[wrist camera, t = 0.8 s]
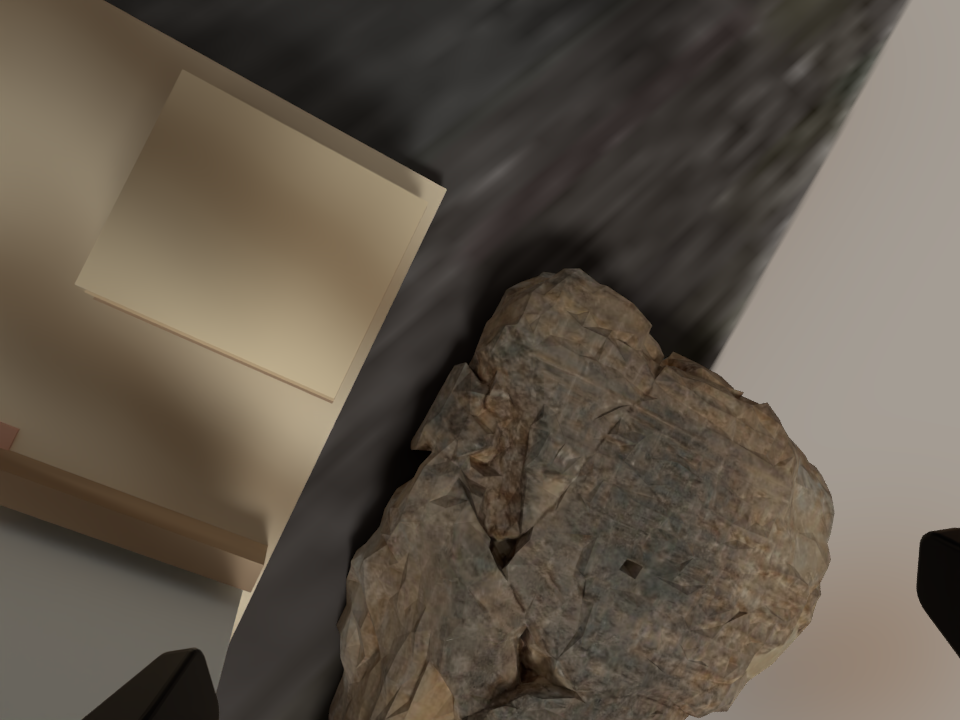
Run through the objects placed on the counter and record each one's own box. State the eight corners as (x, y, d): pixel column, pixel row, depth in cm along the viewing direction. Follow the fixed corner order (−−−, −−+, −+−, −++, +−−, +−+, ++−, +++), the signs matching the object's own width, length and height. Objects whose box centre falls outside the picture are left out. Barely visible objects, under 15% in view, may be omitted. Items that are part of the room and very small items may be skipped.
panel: (212, 653, 19) (122, 948, 10) (-34, 574, 17) (-396, 844, 8) (243, 589, 19) (180, 827, 10) (0, 504, 17) (-321, 700, 9)
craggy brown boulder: (546, 943, 23) (826, 461, 24) (599, 1105, 19) (944, 497, 20) (181, 793, 20) (518, 249, 21) (133, 940, 16) (569, 231, 17)
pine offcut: (332, 392, 17) (334, 398, 16) (92, 286, 15) (74, 284, 14) (420, 210, 17) (428, 202, 16) (192, 87, 15) (182, 69, 14)
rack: (181, 736, 20) (163, 791, 17) (-384, 574, 16) (-497, 616, 14) (441, 194, 20) (457, 179, 18) (-45, -73, 17) (-100, -132, 15)
